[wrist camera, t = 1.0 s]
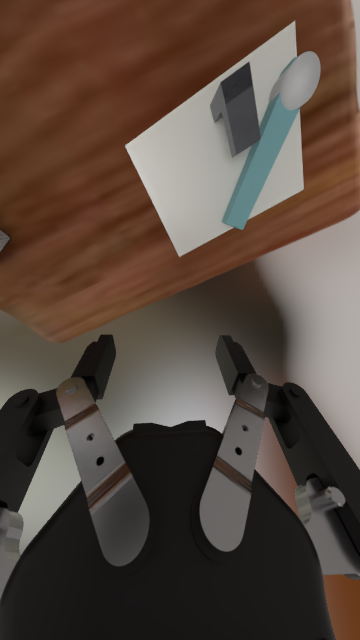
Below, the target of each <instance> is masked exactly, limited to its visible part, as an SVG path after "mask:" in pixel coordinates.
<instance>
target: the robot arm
mask: <svg viewBox="0 0 360 640" xmlns="http://www.w3.org/2000/svg"><path fill="white" fill-rule="evenodd" d="M115 357H116V349H115V344H114V339H113V335H100V337H99V339H98V342H92V343H91V344H90V345H89V346H88V347H87V348H86V350H85V352H84V354H83V355H82V357H81V359H80V361H79V363H78V365H77V367H76V369H75V371H74V372H73V374H72V376H71V378H69V379H67V380H65V381H64V382H63V383H61V384H60V385H59V387H58V388H56V389H53V390H50V391H46V392H43V393H38V392H37V391H36V390H34V389H27V390H23V391H20V392H18V393H16V394H15V395H13V396H12V397H10V398H9V399H8V400H7V402H6V403H5V404H4V405H3V407H2V408H1V410H0V640H336V639H335V635H334V632H333V628H332V625H331V620H330V616H329V612H328V607H327V602H326V597H325V589H324V582H323V575H328V574H329V575H330V574H344V575H345V576H347V577H348V578H350V579H356V580H360V470H359V468H358V467H357V466H356V464H355V462H354V461H353V459H352V458H351V457H350V455H349V454H348V452H347V451H346V449H345V448H344V446H343V445H342V444H341V442H340V441H339V439H338V438H337V436H336V435H335V434H334V432H333V431H332V429H331V428H330V426H329V425H328V423H327V422H326V421H325V419H324V418H323V416H322V415H321V413H320V412H319V410H318V409H317V407H316V406H315V404H314V403H313V402H312V400H311V399H310V397H309V396H308V394H307V393H306V392H305V391H304V389H302V388H301V387H300V386H298V385H296V384H294V383H288V382H287V383H285V384H284V385H283V386H282V387H281V386H277V385H273V384H270V383H268V382H267V381H266V380H265V379H264V378H263V377H262V376H260V375H258V374H257V373H256V372H255V370H254V368H253V366H252V364H251V363H250V361H249V359H248V357H247V355H246V354H245V351H244V350H243V348H242V346H241V345H239V344H238V343H237V342H233V340H232V338H231V336H230V335H220V336H219V339H218V343H217V347H216V358H217V361H218V364H219V367H220V370H221V373H222V376H223V379H224V382H225V385H226V388H227V391H228V394H229V395H235V398H236V400H235V402H234V405H233V408H232V410H231V412H230V415H229V418H228V420H227V423H226V425H225V427H224V430H223V433H220V432H219V431H217V430H216V429H214V428H212V427H209V426H206V422H205V420H199V421H187V422H184V423H181V424H178V425H176V426H173V427H167V426H163V425H159V424H154V423H140V424H134V426H133V430H130V431H128V432H126V433H124V434H123V435H121V436H120V437H118V438H117V439H116V440H114V438H113V437H112V434H111V432H110V430H109V428H108V426H107V424H106V422H105V420H104V418H103V416H102V414H101V412H100V410H99V408H98V407H97V405H96V404H95V402H96V399H102V398H103V396H104V392H105V389H106V386H107V383H108V379H109V376H110V373H111V370H112V367H113V363H114V360H115ZM265 417H268V418H269V420H270V423H271V425H272V427H273V430H274V432H275V434H276V437H277V439H278V441H279V444H280V446H281V448H282V451H283V453H284V455H285V457H286V460H287V462H288V464H289V467H290V469H291V471H292V473H293V476H294V478H295V481H296V483H297V485H298V487H297V488H296V491H295V498H296V502H297V508H298V510H299V517H298V516H297V515H296V514H295V512H294V511H292V509H291V508H290V507H289V506H288V505H287V504H286V503H285V502H284V500H283V499H282V498H281V497H280V496H279V495H278V494H277V493H276V492H275V491H274V490H273V488H272V487H271V486H270V485H269V484H268V483H267V482H266V481H265V480H264V479H263V477H261V475H260V474H259V473H258V472H257V471H256V470H255V464H256V459H257V454H258V449H259V445H260V440H261V435H262V430H263V425H264V420H265ZM62 425H65V430H66V433H67V436H68V439H69V443H70V445H71V449H72V452H73V455H74V458H75V462H76V465H77V468H78V471H79V474H80V477H81V482H80V483H79V484H78V485H77V486H76V488H75V489H74V490H73V491H72V492H71V494H70V495H69V496H68V497H67V499H66V500H65V501H64V502H63V503H62V504H61V506H60V507H59V508H58V509H57V511H56V512H55V513H54V514H53V515H52V517H51V518H50V519H49V520H48V521H47V523H46V524H45V525H44V526H43V527H42V529H41V530H40V531H39V532H38V534H37V535H36V536H35V537H34V538H33V540H32V541H31V542H30V543H29V545H28V546H27V547H26V549H25V550H24V552H23V553H22V555H20V552H19V542H20V538H21V534H22V531H23V518H22V516H21V515H20V514H19V513H18V511H19V509H20V506H21V504H22V502H23V499H24V497H25V495H26V492H27V490H28V487H29V485H30V483H31V481H32V478H33V476H34V473H35V471H36V469H37V467H38V464H39V462H40V460H41V457H42V455H43V453H44V450H45V448H46V446H47V443H48V441H49V439H50V436H51V434H52V432H53V429H54V428H57V427H59V426H62Z"/></svg>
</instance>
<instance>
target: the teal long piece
mask: <svg viewBox="0 0 360 640" xmlns="http://www.w3.org/2000/svg"><path fill="white" fill-rule="evenodd" d="M320 70H321V67H320V61H319V58H318V56H317V55H316V54H315V53H314V52H312V51H307V52H304V53H303V54H301V55H300V56H299V57H298V58H297V57H294V58H293V59H292V60H291V62H290V63H289V64H288V65H287V66H286V67H285V68H284V70H283V71H282V72H281V74H280V77H279V79H278V80H277V81H276V83H275V84H274V86H273V88H272V90H271V93H270V98H269V104H268V107H267V109H266V112H265V114H264V117H263V119H262V122H261V124H260V127H259V128H260V135H261V140H259V141H258V142H256V143H255V144H253V145H252V147H251V149H250V152H249V154H248V157H247V159H246V162H245V164H244V167H243V169H242V172H241V174H240V177H239V179H238V182H237V184H236V187H235V189H234V192H233V194H232V197H231V199H230V202H229V204H228V207H227V209H226V212H225V214H224V217H223V219H222V222H223V223H225V224H228V225H230V226H233V227H235V228H238V229H241V230H243V229H244V226H245V224H246V222H247V220H248V218H249V216H250V214H251V211H252V209H253V207H254V205H255V203H256V201H257V199H258V197H259V194H260V192H261V190H262V188H263V186H264V184H265V182H266V179H267V177H268V175H269V173H270V171H271V169H272V167H273V165H274V162H275V160H276V158H277V156H278V154H279V152H280V150H281V148H282V145H283V143H284V141H285V139H286V137H287V135H288V133H289V130H290V128H291V126H292V124H293V122H294V120H295V118H296V116H297V113H298V111H299V109H300V107H301V106H302V105H303V104H304V103H306V102H307V101H308V100H309V99H310V98H311V96H312V95H313V93H314V92H315V90H316V87H317V85H318V82H319V78H320Z"/></svg>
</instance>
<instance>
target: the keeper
mask: <svg viewBox="0 0 360 640" xmlns="http://www.w3.org/2000/svg"><path fill="white" fill-rule="evenodd" d="M210 109H211V113H212V117H213V120H214V123H215V122H216V121H218V120H219V119H221V118H222V117H223V120H224V125H225V129H226V133H227V138H228V142H229V146H230V151H231V155H232V158H233V157H234V156H236V155H237V154H239V153H241V152H242V151H244V150H245V149H247V148H249V147H250V146H252V145H253V144H255V143H256V142H258V141H259V140H261V135H260V128H259V122H258V115H257V108H256V102H255V95H254V88H253V82H252V75H251V68H250V62H248V63H246V64H245V65H244V66H242V67H241V68H239V69H238V70H237V71H235V72H234V73H233V74H231V75H230V76H228V77H227V78H226V79H224V80H223V81H222V82H220V84H219V87H218V89H217V91H216V93H215V95H214V98H213V100H212V102H211V104H210Z"/></svg>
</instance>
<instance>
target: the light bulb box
mask: <svg viewBox="0 0 360 640" xmlns="http://www.w3.org/2000/svg"><path fill="white" fill-rule="evenodd" d="M9 239H10V237H9V236H7V235H6V234H5V233H3V232H2V231H1V230H0V251H1V250H2V249H3V247H4V246H5V244H6V243H7V242H8V240H9Z"/></svg>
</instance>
